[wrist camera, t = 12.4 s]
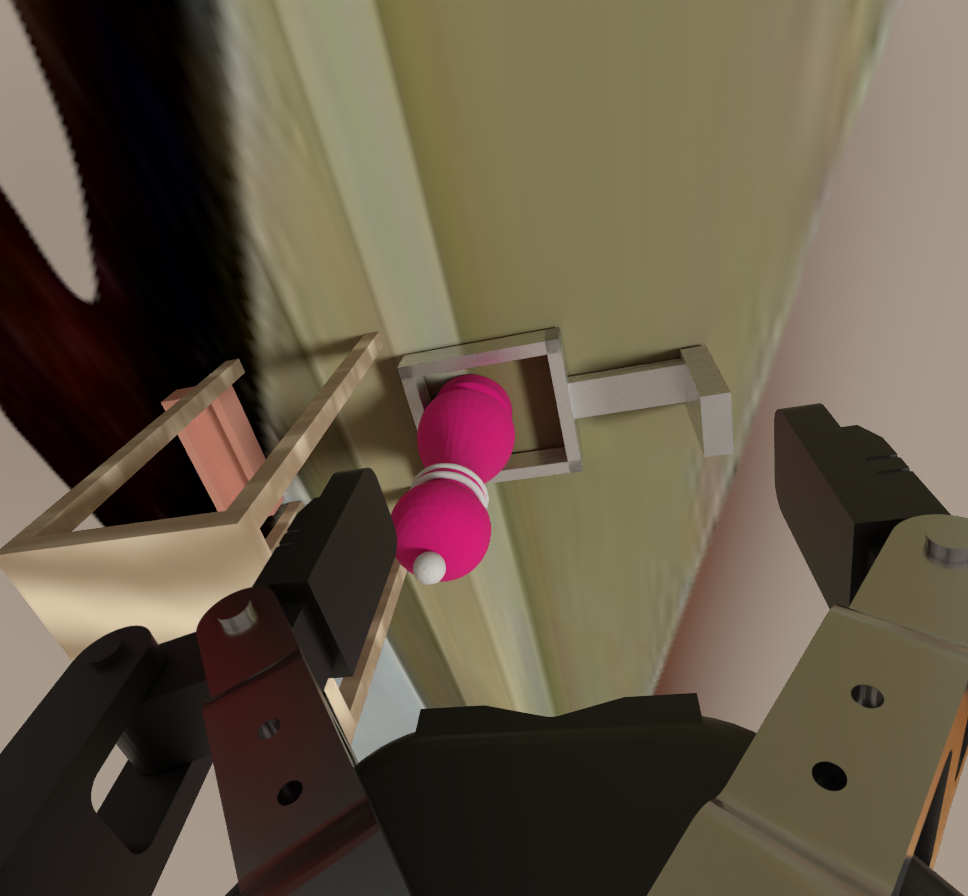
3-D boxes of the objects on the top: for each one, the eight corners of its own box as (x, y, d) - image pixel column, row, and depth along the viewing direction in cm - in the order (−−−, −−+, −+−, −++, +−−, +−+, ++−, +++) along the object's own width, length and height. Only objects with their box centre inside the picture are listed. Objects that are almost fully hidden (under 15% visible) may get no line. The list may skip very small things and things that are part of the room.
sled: (404, 355, 49) (377, 400, 42) (702, 301, 44) (728, 342, 37) (440, 474, 54) (422, 532, 47) (711, 437, 49) (735, 495, 42)
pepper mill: (536, 401, 50) (521, 571, 33) (486, 463, 53) (448, 647, 36) (459, 350, 48) (401, 500, 31) (412, 417, 52) (336, 586, 35)
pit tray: (176, 389, 53) (160, 402, 51) (229, 380, 52) (215, 392, 50) (235, 506, 58) (223, 521, 56) (284, 499, 57) (273, 515, 55)
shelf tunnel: (225, 361, 51) (-8, 555, 30) (378, 332, 48) (237, 523, 27) (294, 513, 58) (144, 754, 37) (431, 495, 55) (350, 745, 35)
